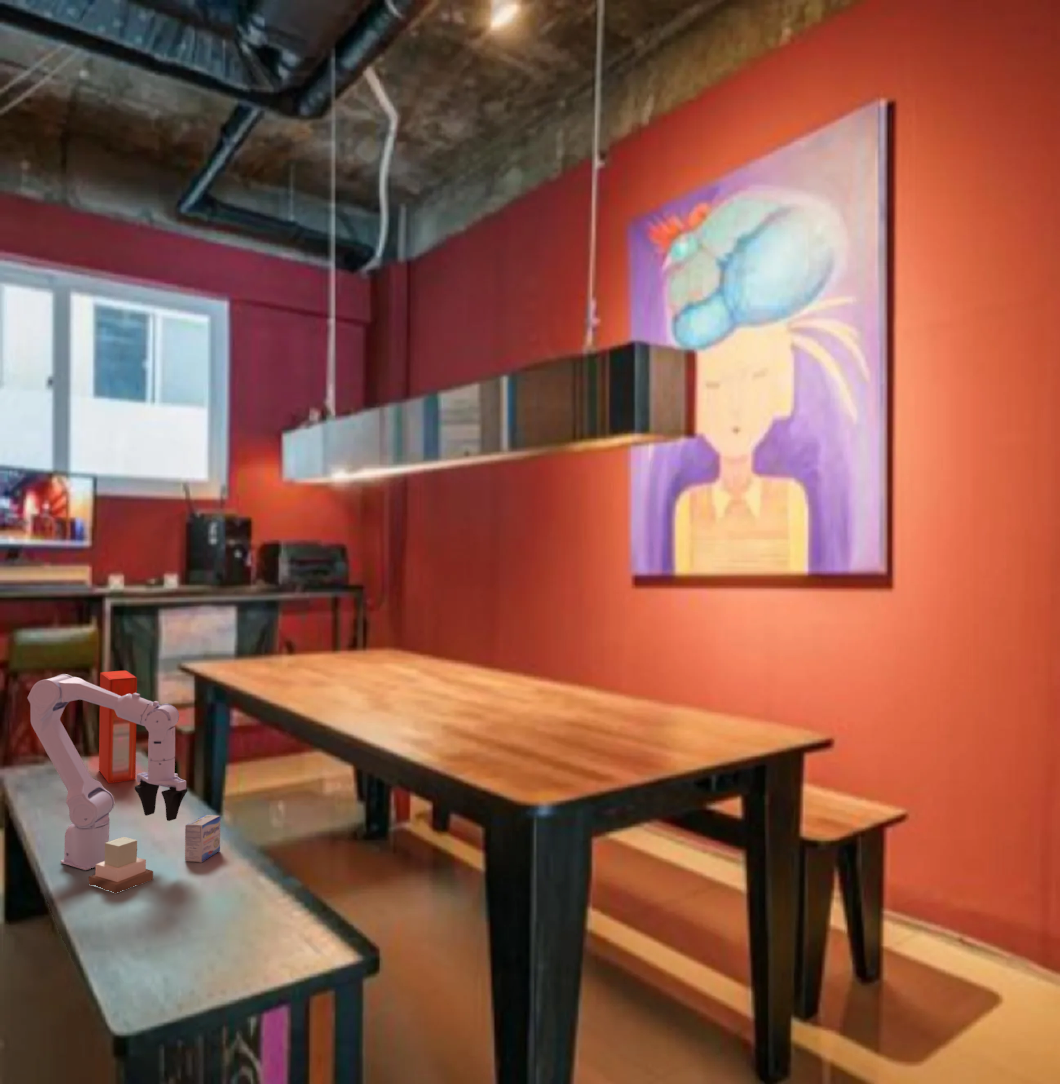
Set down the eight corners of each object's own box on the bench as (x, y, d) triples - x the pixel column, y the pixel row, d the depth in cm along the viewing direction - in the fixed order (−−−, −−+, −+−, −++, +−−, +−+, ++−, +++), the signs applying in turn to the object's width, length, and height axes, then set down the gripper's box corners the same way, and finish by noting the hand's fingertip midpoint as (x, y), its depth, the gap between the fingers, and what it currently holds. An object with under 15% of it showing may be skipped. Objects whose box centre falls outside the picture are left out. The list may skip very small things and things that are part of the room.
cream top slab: (95, 875, 180) (95, 864, 180) (123, 865, 186) (124, 854, 186) (117, 882, 177) (117, 870, 177) (145, 871, 183) (145, 859, 183)
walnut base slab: (88, 888, 180) (88, 876, 180) (126, 874, 188) (126, 863, 188) (115, 897, 175) (115, 885, 176) (152, 882, 183) (153, 871, 183)
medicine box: (201, 863, 193) (202, 825, 194) (184, 861, 194) (184, 824, 194) (220, 851, 201) (221, 815, 201) (203, 850, 202) (204, 814, 202)
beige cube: (104, 863, 180) (104, 842, 181) (123, 857, 184) (123, 836, 185) (118, 867, 178) (118, 846, 178) (136, 861, 182) (137, 840, 182)
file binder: (106, 783, 257) (109, 679, 257) (97, 771, 271) (100, 672, 271) (135, 779, 261) (138, 677, 262) (125, 767, 275) (127, 670, 276)
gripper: (197, 758, 194) (196, 817, 194) (155, 750, 201) (154, 807, 201) (171, 765, 188) (170, 825, 188) (129, 757, 195) (128, 815, 194)
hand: (160, 817), depth 194 cm, fingers open, 7 cm apart
